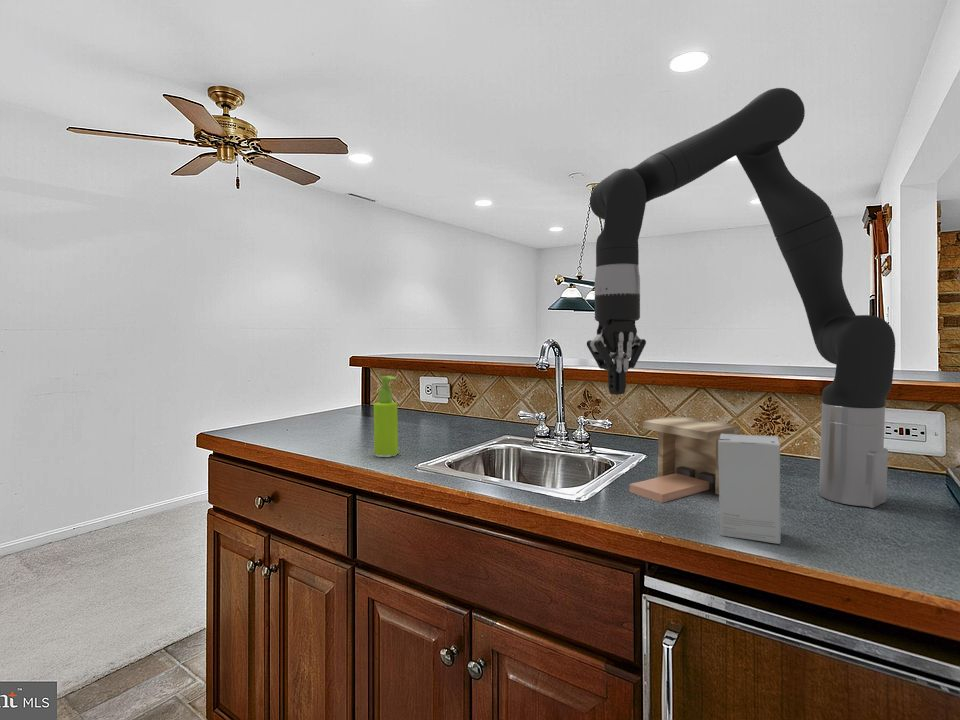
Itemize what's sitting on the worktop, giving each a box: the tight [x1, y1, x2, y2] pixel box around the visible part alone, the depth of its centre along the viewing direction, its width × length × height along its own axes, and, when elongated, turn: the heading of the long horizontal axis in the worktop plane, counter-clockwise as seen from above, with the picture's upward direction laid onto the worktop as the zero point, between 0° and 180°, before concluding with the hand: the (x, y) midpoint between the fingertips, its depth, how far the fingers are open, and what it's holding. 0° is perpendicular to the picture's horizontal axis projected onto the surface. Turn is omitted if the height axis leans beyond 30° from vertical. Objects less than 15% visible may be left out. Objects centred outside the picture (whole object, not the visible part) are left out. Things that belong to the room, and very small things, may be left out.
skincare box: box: [718, 434, 782, 545], centre depth 77 cm, size 8×6×15 cm
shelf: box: [642, 415, 741, 496], centre depth 101 cm, size 14×11×12 cm
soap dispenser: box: [373, 375, 399, 455], centre depth 128 cm, size 6×7×20 cm
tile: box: [629, 473, 710, 504], centre depth 99 cm, size 8×14×2 cm, turn 123°
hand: (617, 393), depth 89 cm, fingers closed
